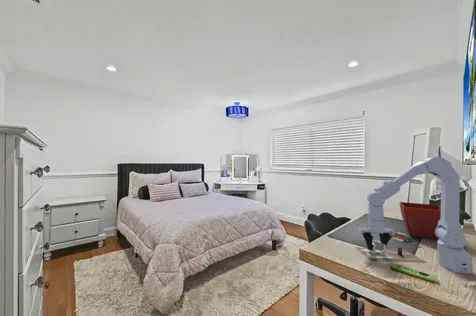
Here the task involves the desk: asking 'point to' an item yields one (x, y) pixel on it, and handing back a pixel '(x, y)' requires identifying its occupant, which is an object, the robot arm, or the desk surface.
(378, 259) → the stand
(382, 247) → the c link
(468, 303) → the desk surface
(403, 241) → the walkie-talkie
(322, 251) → the desk surface
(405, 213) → the plant pot
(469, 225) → the desk surface
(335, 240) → the desk surface
